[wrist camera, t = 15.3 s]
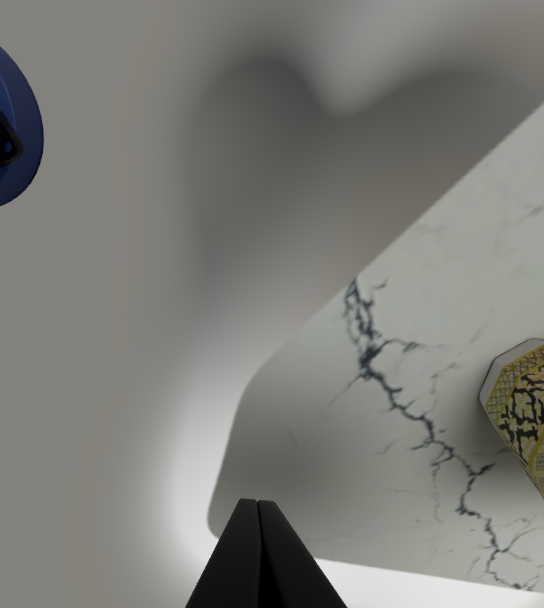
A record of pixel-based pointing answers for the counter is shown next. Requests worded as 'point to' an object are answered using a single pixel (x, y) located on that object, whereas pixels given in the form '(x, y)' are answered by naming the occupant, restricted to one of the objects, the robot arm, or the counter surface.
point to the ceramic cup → (519, 405)
